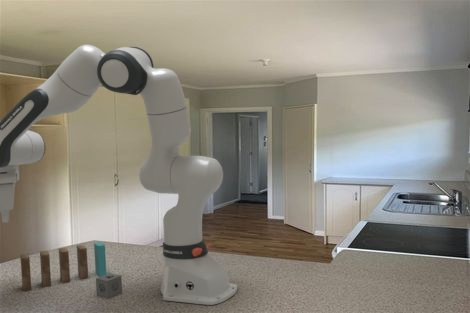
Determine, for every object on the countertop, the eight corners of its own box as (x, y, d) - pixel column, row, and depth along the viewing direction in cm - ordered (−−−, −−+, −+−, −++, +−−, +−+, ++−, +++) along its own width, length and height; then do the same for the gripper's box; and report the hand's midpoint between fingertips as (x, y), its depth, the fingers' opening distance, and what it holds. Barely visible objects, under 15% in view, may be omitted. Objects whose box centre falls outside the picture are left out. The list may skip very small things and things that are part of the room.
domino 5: (102, 271, 139) (100, 241, 138) (106, 274, 135) (104, 244, 134) (95, 272, 138) (93, 243, 137) (99, 276, 134) (98, 246, 133)
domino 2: (49, 281, 131) (47, 250, 130) (51, 285, 126) (49, 254, 126) (41, 282, 130) (39, 251, 129) (43, 287, 125) (41, 255, 125)
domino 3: (67, 277, 133) (65, 247, 133) (70, 282, 129) (68, 250, 129) (60, 279, 132) (58, 248, 132) (62, 283, 128) (60, 252, 127)
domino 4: (85, 274, 136) (83, 244, 136) (88, 278, 132) (86, 247, 131) (78, 275, 135) (76, 245, 135) (81, 279, 131) (79, 249, 130)
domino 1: (30, 285, 128) (28, 253, 127) (31, 289, 124) (29, 257, 123) (22, 286, 127) (20, 254, 126) (23, 291, 122) (21, 258, 122)
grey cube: (108, 298, 115) (107, 281, 115) (96, 295, 118) (95, 278, 117) (122, 292, 119) (121, 275, 119) (110, 289, 122) (109, 272, 121)
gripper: (-11, 174, 128) (-8, 217, 129) (-10, 178, 111) (-7, 229, 112) (12, 172, 132) (15, 215, 132) (16, 177, 114) (19, 226, 115)
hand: (5, 221), depth 122 cm, fingers closed
